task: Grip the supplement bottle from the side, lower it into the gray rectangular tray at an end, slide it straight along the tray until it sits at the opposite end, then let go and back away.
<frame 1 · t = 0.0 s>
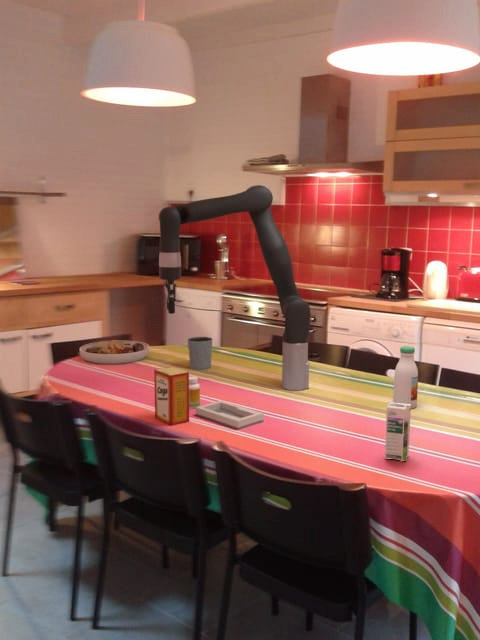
hand: (170, 311, 235), 29 cm above the table, tool pointing down, fingers open, 8 cm apart
blue-grey cup: (200, 367, 277), on the table
milk bottle: (404, 406, 225), on the table
supplement bottle: (191, 406, 224), on the table
gray rectangular tray: (220, 415, 214), on the table
baking soda box: (172, 420, 210), on the table
bowl: (115, 358, 295), on the table
syrup box: (396, 458, 179), on the table
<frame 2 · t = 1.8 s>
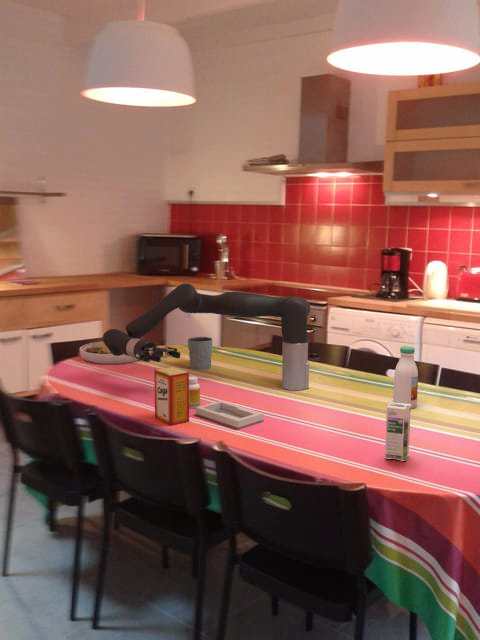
hand: (169, 357, 229), 15 cm above the table, tool horizontal, fingers open, 8 cm apart
nothing on the table moved.
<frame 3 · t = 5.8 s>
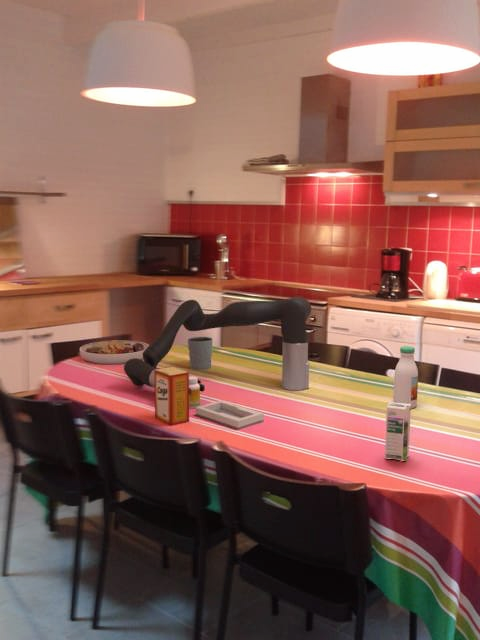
hand: (196, 390, 221), 6 cm above the table, tool horizontal, fingers closed on supplement bottle, 5 cm apart
supplement bottle: (191, 406, 224), on the table, touching gripper
everything else where it was.
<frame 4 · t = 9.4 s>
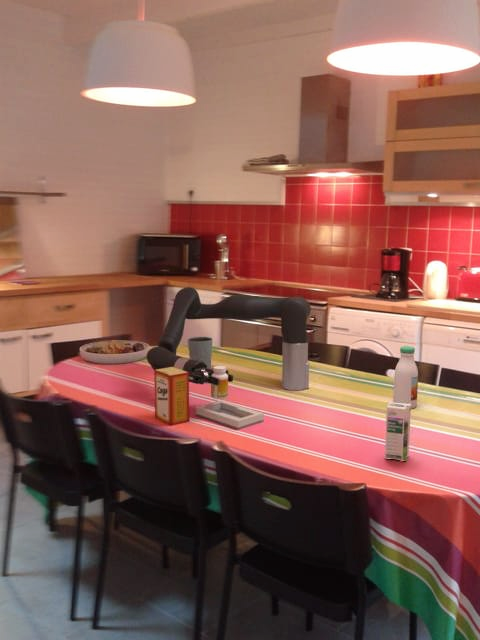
hand: (225, 380, 210), 12 cm above the table, tool horizontal, fingers closed on supplement bottle, 5 cm apart
supplement bottle: (219, 397, 213), point 6 cm above the table, touching gripper
everything else where it was.
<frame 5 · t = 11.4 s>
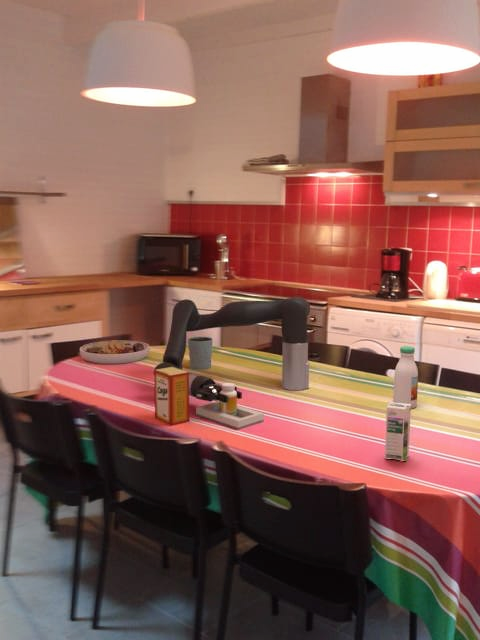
hand: (233, 397, 208), 7 cm above the table, tool horizontal, fingers closed on supplement bottle, 5 cm apart
supplement bottle: (228, 414, 211), point 1 cm above the table, touching gripper
everything else where it was.
when the fingers open (7 cm above the table, at t = 13.0 s): supplement bottle stays where it is, resting on gray rectangular tray.
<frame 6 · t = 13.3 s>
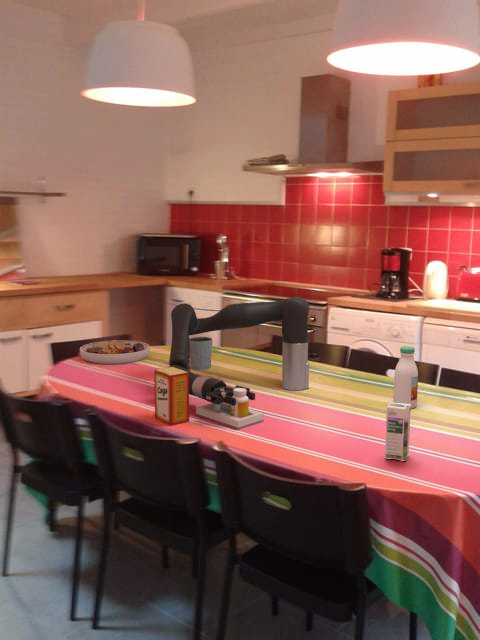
hand: (244, 399, 205), 8 cm above the table, tool horizontal, fingers open, 8 cm apart
supplement bottle: (239, 420, 208), resting on gray rectangular tray
everything else where it was.
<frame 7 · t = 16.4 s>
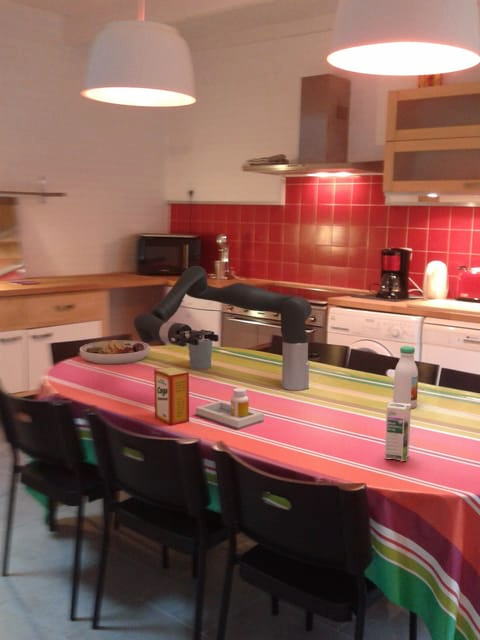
hand: (208, 340, 214), 23 cm above the table, tool horizontal, fingers open, 8 cm apart
nothing on the table moved.
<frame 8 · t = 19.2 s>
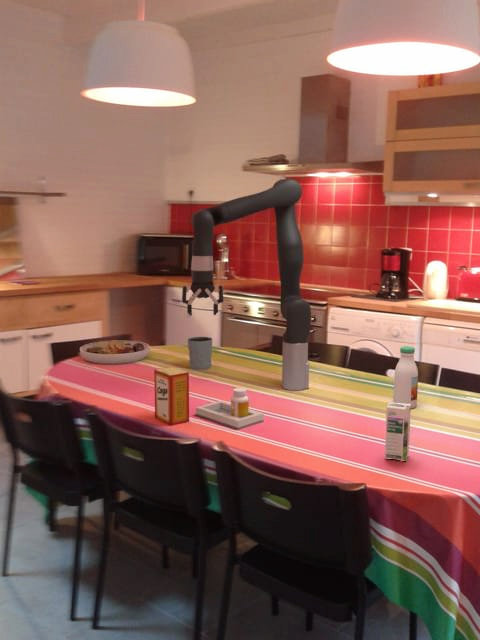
hand: (202, 315, 235), 28 cm above the table, tool pointing down, fingers open, 8 cm apart
nothing on the table moved.
at the end: supplement bottle 0.2 cm from the target spot, resting on gray rectangular tray; supplement bottle tilted 0°; the gripper is holding nothing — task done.
